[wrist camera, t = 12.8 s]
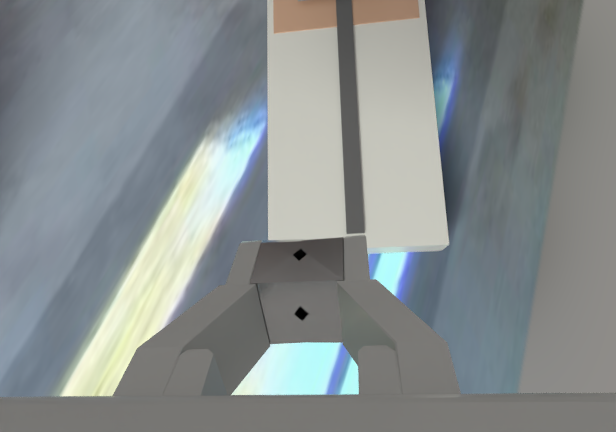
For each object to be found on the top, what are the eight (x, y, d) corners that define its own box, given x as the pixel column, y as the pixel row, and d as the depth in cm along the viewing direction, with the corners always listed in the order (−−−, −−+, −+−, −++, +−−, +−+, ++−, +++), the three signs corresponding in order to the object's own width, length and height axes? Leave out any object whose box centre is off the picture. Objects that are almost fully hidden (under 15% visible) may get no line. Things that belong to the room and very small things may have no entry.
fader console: (440, 250, 30) (449, 244, 27) (277, 257, 31) (267, 252, 28) (412, -51, 36) (416, -85, 33) (274, -33, 37) (266, -64, 34)
